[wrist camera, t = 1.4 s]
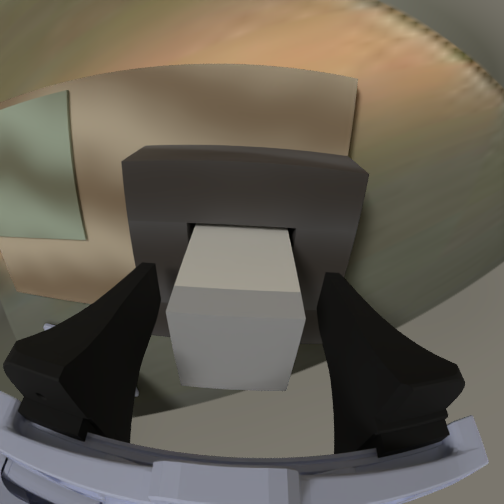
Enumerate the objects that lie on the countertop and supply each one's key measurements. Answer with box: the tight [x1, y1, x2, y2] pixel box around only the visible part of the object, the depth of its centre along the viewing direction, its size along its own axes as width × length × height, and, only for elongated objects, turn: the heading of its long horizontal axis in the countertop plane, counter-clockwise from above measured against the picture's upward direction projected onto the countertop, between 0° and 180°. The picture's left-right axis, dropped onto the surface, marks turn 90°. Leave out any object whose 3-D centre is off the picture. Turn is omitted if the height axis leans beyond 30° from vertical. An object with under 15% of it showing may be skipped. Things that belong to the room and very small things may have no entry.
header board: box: [0, 64, 369, 344], centre depth 14 cm, size 15×24×4 cm, turn 87°
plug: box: [166, 223, 306, 391], centre depth 13 cm, size 4×4×8 cm
